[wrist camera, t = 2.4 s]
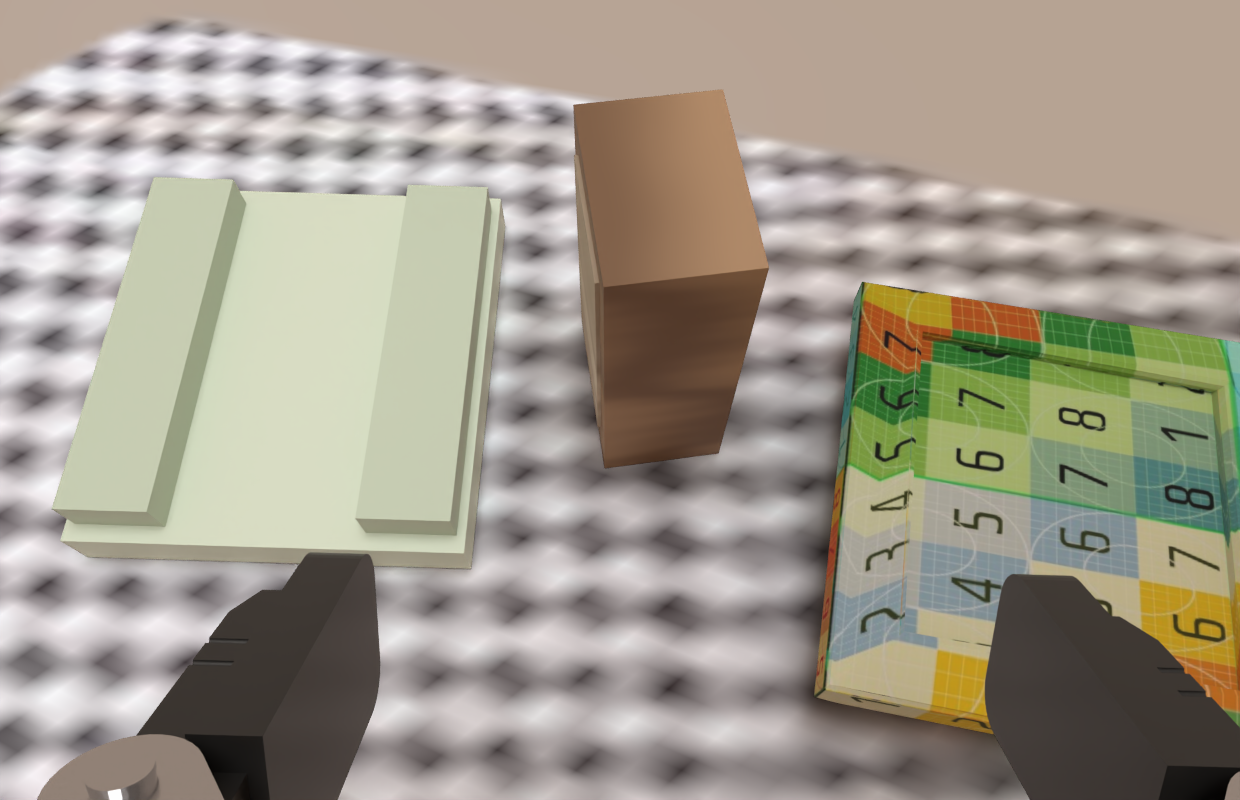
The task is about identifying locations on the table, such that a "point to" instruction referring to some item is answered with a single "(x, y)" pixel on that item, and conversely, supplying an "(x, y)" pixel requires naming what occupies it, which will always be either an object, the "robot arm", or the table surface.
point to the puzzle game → (1024, 494)
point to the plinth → (292, 379)
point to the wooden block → (664, 271)
